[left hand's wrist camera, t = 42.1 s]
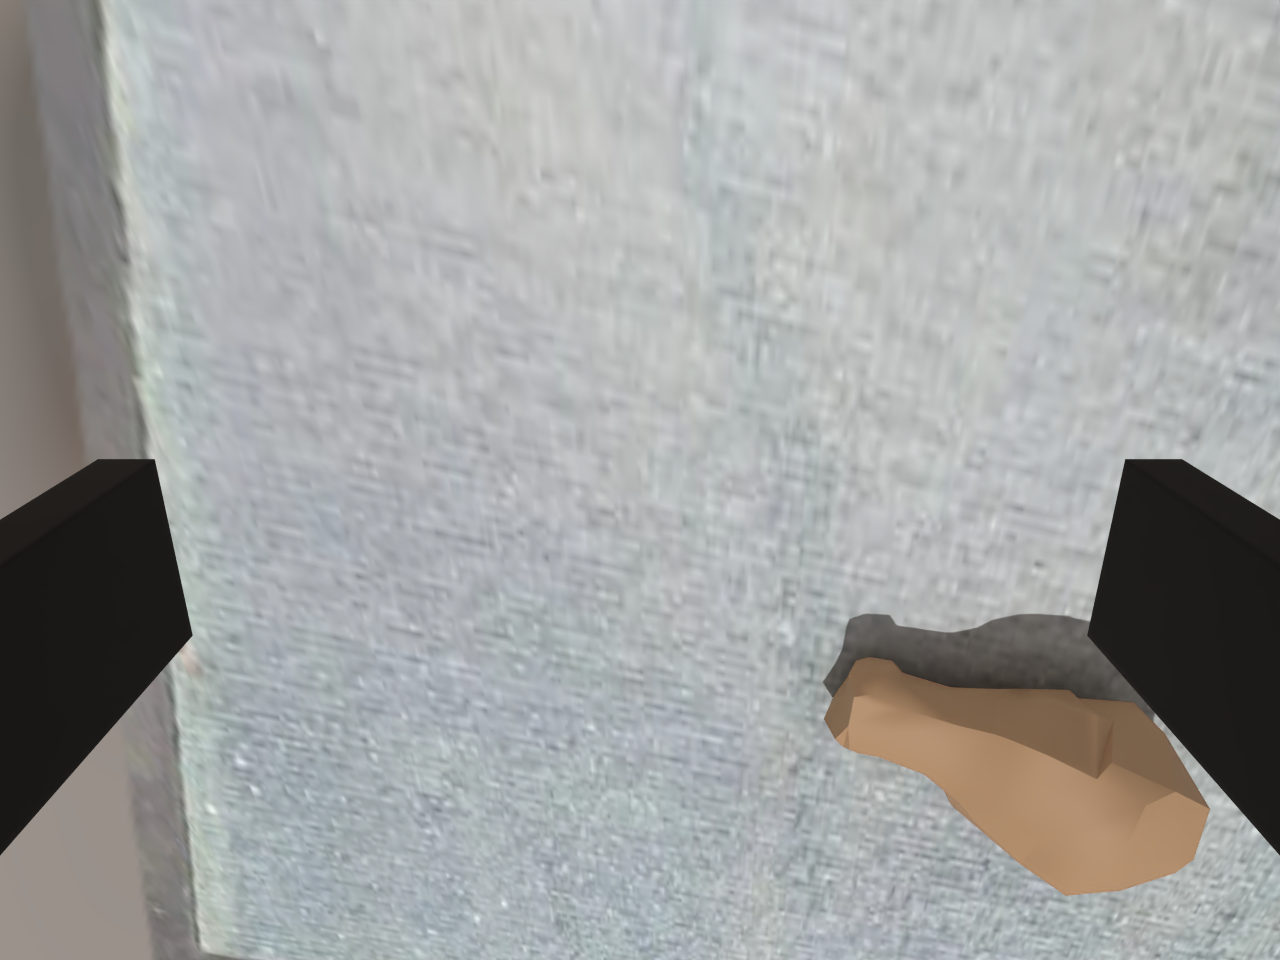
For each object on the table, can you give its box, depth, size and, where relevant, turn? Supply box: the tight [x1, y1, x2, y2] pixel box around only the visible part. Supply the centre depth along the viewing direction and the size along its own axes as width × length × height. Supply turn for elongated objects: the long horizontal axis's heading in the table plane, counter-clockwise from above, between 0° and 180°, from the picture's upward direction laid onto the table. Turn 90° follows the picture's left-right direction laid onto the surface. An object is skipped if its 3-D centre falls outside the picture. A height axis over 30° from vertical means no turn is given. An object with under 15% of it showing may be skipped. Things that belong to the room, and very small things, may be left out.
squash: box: [824, 657, 1210, 896], centre depth 49 cm, size 11×20×9 cm, turn 74°
